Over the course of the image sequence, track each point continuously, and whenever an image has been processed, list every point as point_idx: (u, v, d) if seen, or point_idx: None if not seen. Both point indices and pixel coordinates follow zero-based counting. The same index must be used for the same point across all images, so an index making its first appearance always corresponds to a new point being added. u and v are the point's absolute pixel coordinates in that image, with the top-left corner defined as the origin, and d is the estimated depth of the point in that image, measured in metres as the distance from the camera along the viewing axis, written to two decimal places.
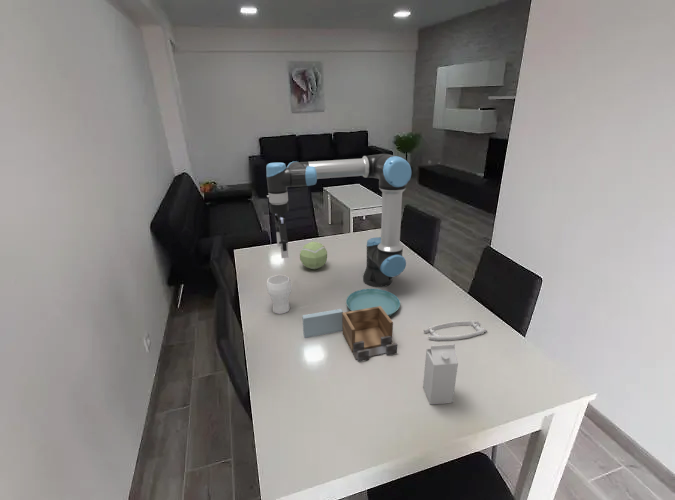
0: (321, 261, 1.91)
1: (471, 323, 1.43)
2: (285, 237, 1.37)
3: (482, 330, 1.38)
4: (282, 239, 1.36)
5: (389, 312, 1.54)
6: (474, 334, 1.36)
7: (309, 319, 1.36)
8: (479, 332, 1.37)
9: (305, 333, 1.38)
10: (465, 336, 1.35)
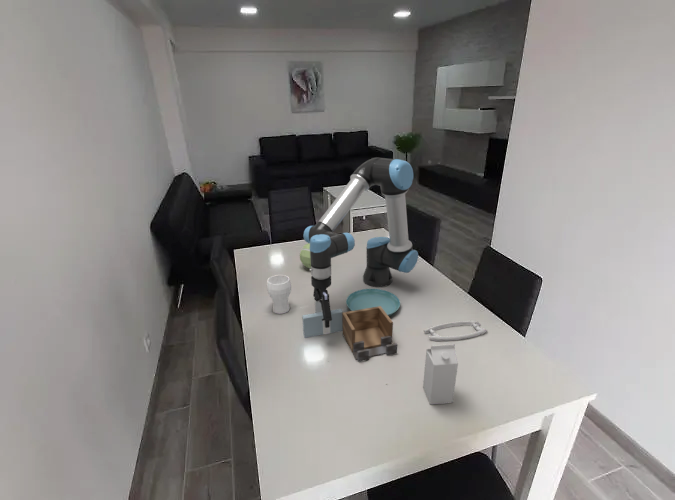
0: None
1: (471, 323, 1.43)
2: (329, 315, 1.28)
3: (482, 330, 1.37)
4: (326, 317, 1.28)
5: (389, 312, 1.54)
6: (474, 334, 1.36)
7: (309, 319, 1.36)
8: (479, 332, 1.37)
9: (305, 333, 1.38)
10: (465, 336, 1.35)
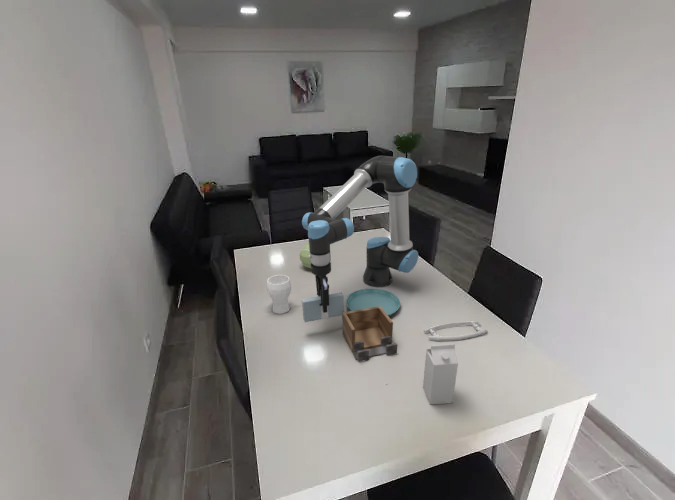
0: None
1: (471, 324, 1.43)
2: (327, 301, 1.31)
3: (482, 331, 1.37)
4: (324, 303, 1.31)
5: (389, 312, 1.54)
6: (474, 335, 1.36)
7: (309, 303, 1.34)
8: (479, 333, 1.37)
9: (305, 317, 1.36)
10: (465, 337, 1.35)
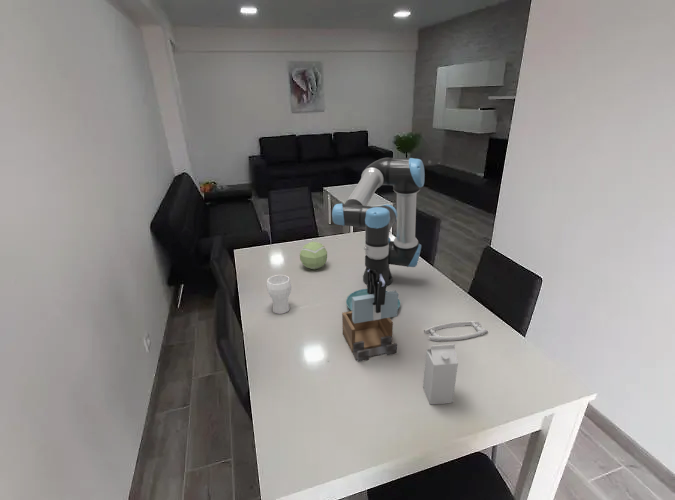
0: (321, 261, 1.91)
1: (472, 323, 1.43)
2: (382, 300, 1.16)
3: (483, 331, 1.37)
4: (379, 302, 1.16)
5: None
6: (475, 335, 1.36)
7: (360, 301, 1.18)
8: (480, 333, 1.37)
9: (355, 318, 1.20)
10: (465, 337, 1.35)
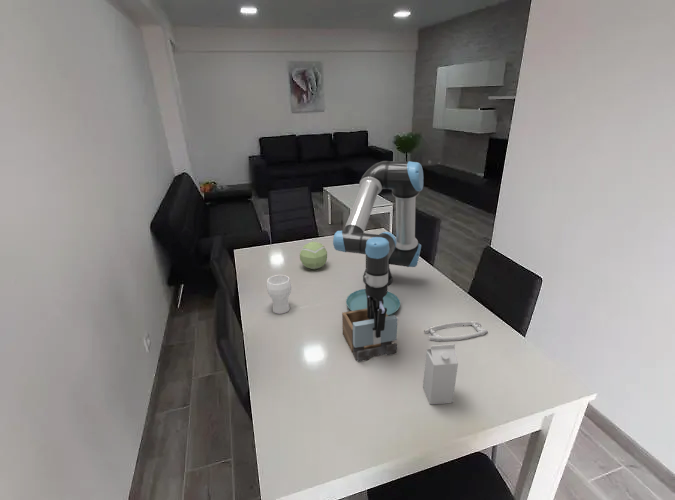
0: (321, 261, 1.91)
1: (472, 324, 1.43)
2: (382, 326, 1.19)
3: (483, 331, 1.37)
4: (379, 328, 1.19)
5: (389, 312, 1.54)
6: (475, 335, 1.36)
7: (361, 327, 1.22)
8: (480, 333, 1.37)
9: (356, 342, 1.24)
10: (465, 337, 1.35)
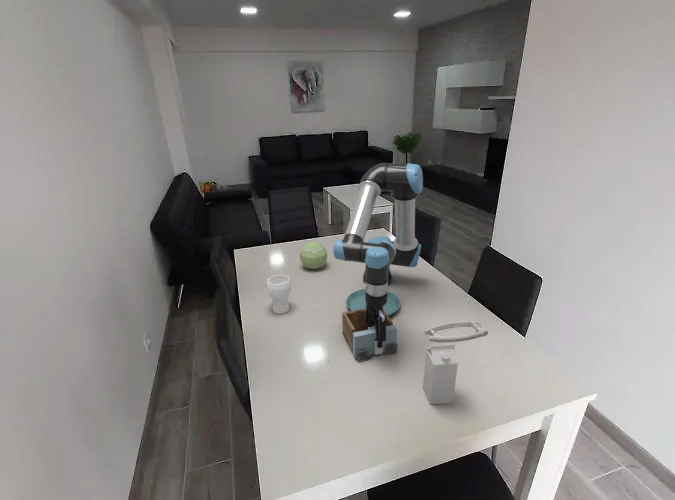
0: (321, 261, 1.91)
1: (472, 324, 1.43)
2: (384, 336, 1.19)
3: (483, 331, 1.37)
4: (380, 338, 1.19)
5: (389, 312, 1.54)
6: (475, 335, 1.36)
7: (361, 337, 1.23)
8: (480, 333, 1.37)
9: (356, 352, 1.25)
10: (466, 337, 1.35)
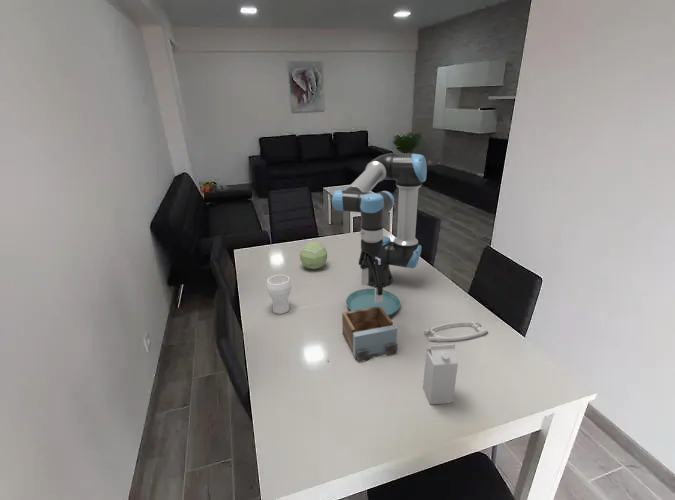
0: (321, 261, 1.91)
1: (472, 324, 1.43)
2: (383, 281, 1.18)
3: (483, 331, 1.37)
4: (380, 283, 1.17)
5: (389, 312, 1.54)
6: (475, 335, 1.36)
7: (361, 337, 1.23)
8: (480, 333, 1.37)
9: (356, 352, 1.25)
10: (466, 337, 1.35)
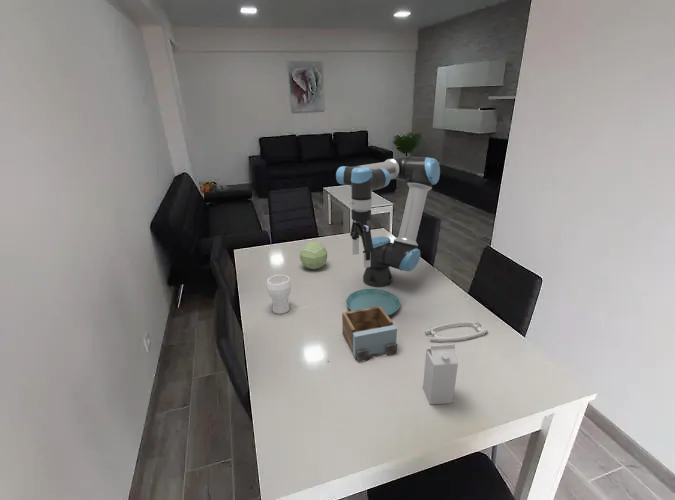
0: (321, 261, 1.91)
1: (472, 324, 1.43)
2: (370, 246, 1.30)
3: (483, 331, 1.37)
4: (368, 248, 1.29)
5: (389, 312, 1.54)
6: (475, 335, 1.36)
7: (361, 337, 1.23)
8: (480, 333, 1.37)
9: (356, 352, 1.25)
10: (466, 337, 1.35)
